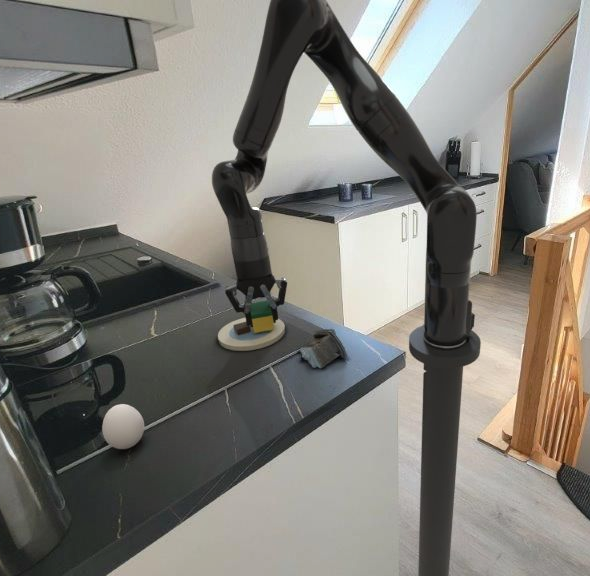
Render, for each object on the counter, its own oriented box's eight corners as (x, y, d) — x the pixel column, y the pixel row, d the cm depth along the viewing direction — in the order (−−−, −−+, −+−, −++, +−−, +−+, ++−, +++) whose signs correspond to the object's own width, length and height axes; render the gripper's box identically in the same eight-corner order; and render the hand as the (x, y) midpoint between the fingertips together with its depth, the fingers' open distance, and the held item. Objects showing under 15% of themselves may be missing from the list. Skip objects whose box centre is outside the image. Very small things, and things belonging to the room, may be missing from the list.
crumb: (247, 326, 96) (246, 321, 95) (251, 331, 94) (250, 326, 93) (234, 330, 94) (233, 324, 94) (238, 335, 92) (237, 329, 91)
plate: (281, 315, 104) (280, 311, 103) (289, 343, 91) (288, 338, 90) (219, 325, 99) (218, 321, 99) (217, 356, 86) (216, 351, 86)
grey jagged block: (288, 351, 88) (293, 335, 78) (314, 332, 92) (322, 315, 81) (315, 385, 87) (324, 373, 77) (340, 365, 91) (352, 351, 80)
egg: (128, 461, 60) (114, 421, 57) (101, 453, 61) (86, 414, 58) (156, 436, 64) (145, 398, 61) (130, 430, 66) (118, 392, 63)
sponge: (252, 320, 98) (249, 303, 96) (271, 316, 99) (268, 300, 97) (254, 333, 91) (251, 315, 90) (274, 329, 93) (271, 311, 91)
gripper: (216, 264, 83) (231, 337, 90) (286, 254, 87) (296, 324, 94) (216, 254, 90) (231, 322, 96) (282, 245, 94) (291, 311, 101)
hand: (263, 323), depth 95 cm, fingers closed on sponge, 4 cm apart
